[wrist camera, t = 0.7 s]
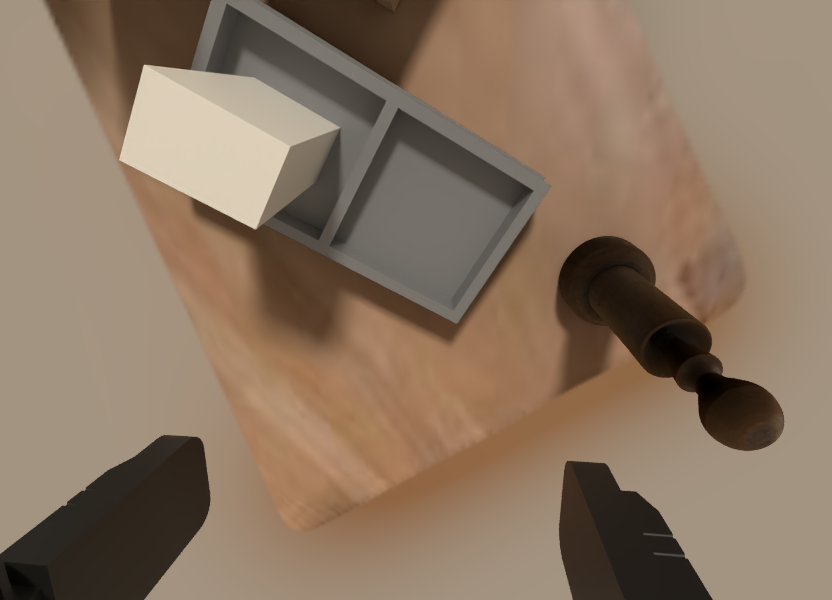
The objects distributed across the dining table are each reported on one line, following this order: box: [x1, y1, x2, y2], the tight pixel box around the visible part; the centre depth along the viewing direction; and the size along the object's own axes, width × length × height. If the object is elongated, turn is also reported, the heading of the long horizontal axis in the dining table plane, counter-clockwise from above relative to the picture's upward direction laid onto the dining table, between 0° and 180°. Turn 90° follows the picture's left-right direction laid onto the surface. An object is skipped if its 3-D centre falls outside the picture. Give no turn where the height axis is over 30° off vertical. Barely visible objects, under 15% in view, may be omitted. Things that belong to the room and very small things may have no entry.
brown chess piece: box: [560, 236, 784, 451], centre depth 26 cm, size 7×6×18 cm
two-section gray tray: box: [190, 0, 551, 324], centre depth 30 cm, size 22×12×4 cm, turn 61°
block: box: [119, 65, 340, 230], centre depth 23 cm, size 6×4×12 cm, turn 61°
